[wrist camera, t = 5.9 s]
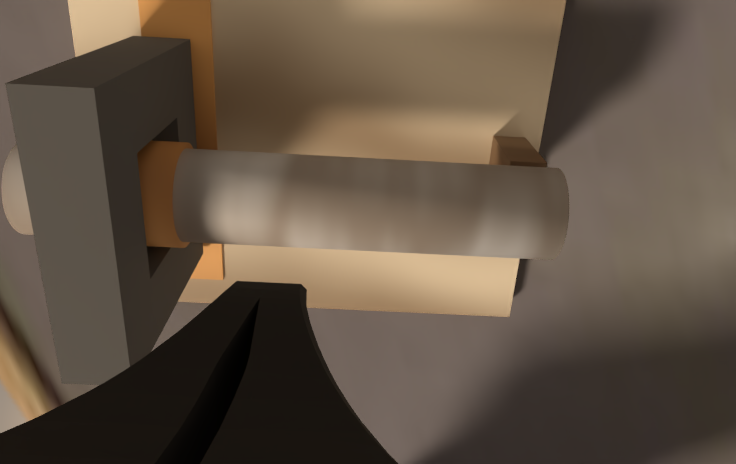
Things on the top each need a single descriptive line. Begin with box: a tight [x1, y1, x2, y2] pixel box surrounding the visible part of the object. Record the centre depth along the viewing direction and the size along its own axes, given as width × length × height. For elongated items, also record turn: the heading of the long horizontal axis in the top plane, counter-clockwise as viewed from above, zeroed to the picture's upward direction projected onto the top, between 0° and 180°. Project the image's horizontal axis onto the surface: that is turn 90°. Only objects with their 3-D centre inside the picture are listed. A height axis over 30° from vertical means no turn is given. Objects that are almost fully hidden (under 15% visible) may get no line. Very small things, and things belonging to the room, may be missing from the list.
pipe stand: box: [1, 0, 569, 317], centre depth 17 cm, size 12×14×6 cm
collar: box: [5, 36, 203, 385], centre depth 16 cm, size 7×2×7 cm, turn 177°
